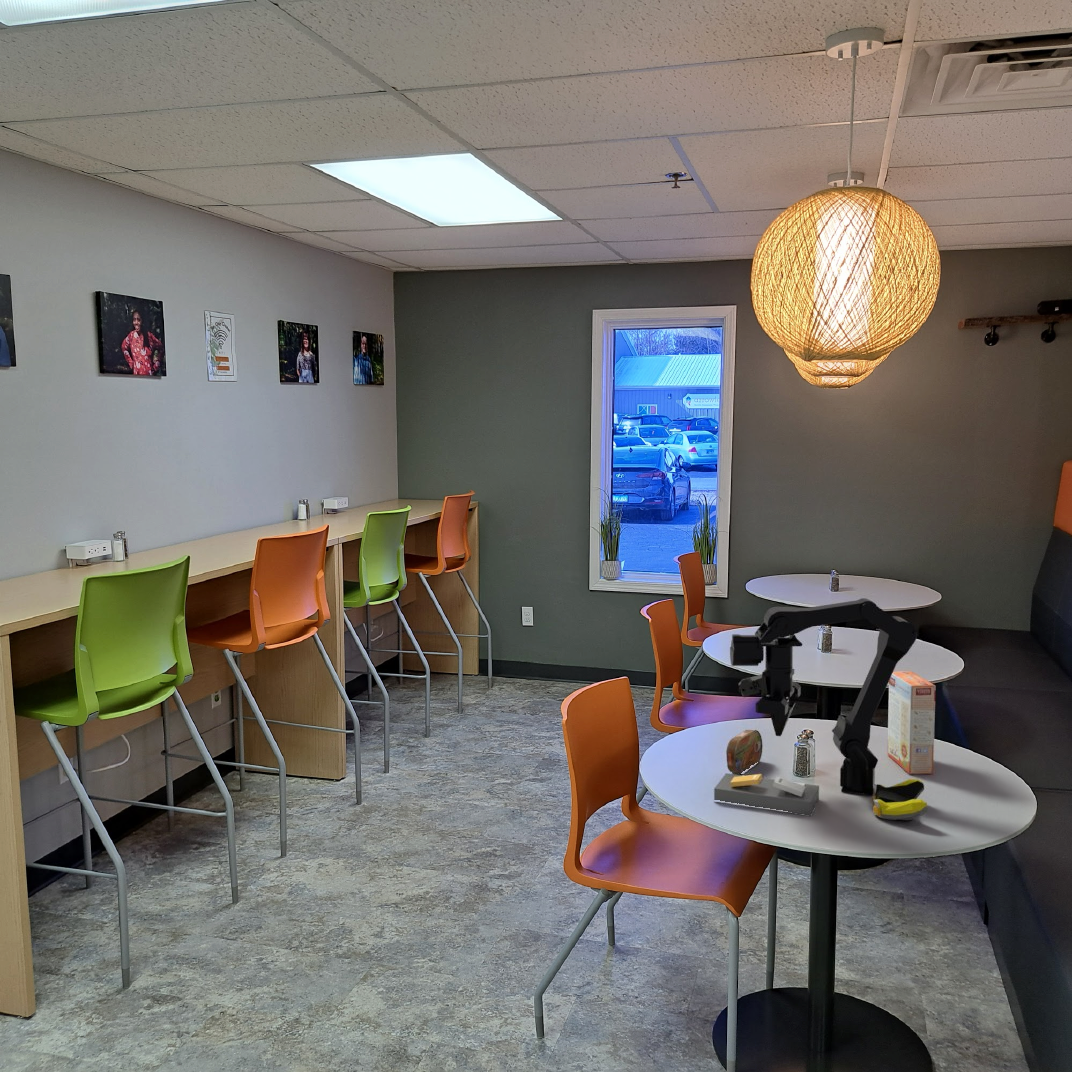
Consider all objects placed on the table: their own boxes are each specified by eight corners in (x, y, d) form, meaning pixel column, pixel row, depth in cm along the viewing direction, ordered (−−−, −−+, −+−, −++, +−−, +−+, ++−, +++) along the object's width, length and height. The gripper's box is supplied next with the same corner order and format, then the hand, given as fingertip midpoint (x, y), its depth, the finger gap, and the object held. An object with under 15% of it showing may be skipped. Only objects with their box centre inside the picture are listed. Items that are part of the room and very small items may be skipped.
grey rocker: (804, 790, 195) (805, 786, 195) (801, 796, 192) (802, 792, 192) (776, 780, 198) (777, 775, 198) (772, 786, 195) (774, 781, 194)
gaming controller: (923, 802, 196) (872, 797, 200) (923, 777, 196) (873, 772, 199) (927, 830, 182) (873, 824, 186) (928, 803, 182) (873, 797, 185)
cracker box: (935, 775, 212) (937, 684, 210) (908, 775, 212) (909, 685, 210) (911, 754, 226) (913, 670, 224) (886, 755, 226) (887, 670, 224)
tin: (736, 779, 212) (736, 743, 211) (723, 776, 214) (723, 740, 213) (763, 760, 224) (763, 726, 223) (751, 758, 226) (751, 724, 225)
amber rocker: (762, 778, 199) (761, 773, 199) (758, 784, 196) (757, 779, 196) (735, 781, 202) (734, 776, 202) (731, 786, 199) (729, 782, 199)
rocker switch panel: (818, 799, 199) (818, 783, 199) (810, 816, 190) (810, 799, 190) (726, 786, 208) (726, 771, 207) (714, 802, 199) (714, 786, 198)
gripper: (751, 653, 215) (751, 720, 216) (731, 672, 198) (731, 743, 199) (801, 657, 210) (800, 725, 211) (784, 676, 193) (784, 750, 195)
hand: (778, 735), depth 204 cm, fingers closed
